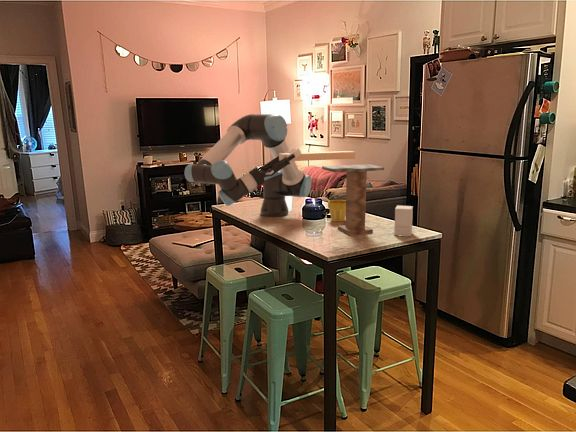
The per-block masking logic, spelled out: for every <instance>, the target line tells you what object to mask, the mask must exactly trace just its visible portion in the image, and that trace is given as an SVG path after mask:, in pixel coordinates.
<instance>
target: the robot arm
mask: <svg viewBox="0 0 576 432" xmlns="http://www.w3.org/2000/svg"><path fill="white" fill-rule="evenodd" d="M287 135H288V124H287V122H286V119H285V118H284V117H283V116H282V115H279V114H275V113H270V114H269V113H267V114H266V113H265V114H254V113H253V114H252V113H250V114H247V115H245V116H242V117H241V118H239V119H237V120H235V121H234V122H233V123H232V124H231V125H230V126H229V127H227V130H226V133H225V134H224V135H223V136H222V137H221V138H220V139H219V140H218V141H217V142H216V143H215V144H214V146H212V147H211V148H210V149H209V150H208V151H207V152H206V154H204V156H202V158H200V160H199V161H198V162H196V163H190V164H188V165H186V166H185V168H184V173H183V174H184V178H185V180H187V182H190V183H195V184H207V185H209V184H210V185H218V186H219V188H220V190H219V191H218V192H217V194H218V197H219V199H221V201H222V202H223V204H224V205H225V206H227V207H230V206H232V205H233V204H235V203H237V202H238V201H239V200H242V198H243V197H245V196H247V195H248V194H250V193H253V192H254V191H255V190H256V189H257V187H261V186H262V185H263V186H262V187H263V189H262V190H263V201H262V203H261V207H260V215H261V216H266V217H282V216H287V215H288V214H289V207H288V205H287V201H286V197H295V198H306V197H308V196H309V194H310V192H311V188H312V177H311V175H309V174H305V173H304V171H303V169H301V168H300V167H298V165H297V163H296V161H292V160H293V159H295V158H296V157H298V156H299V155H301V154H302V153H303V152H301V150H300V148H296V147H293V148H291V149H290V148H289V146H288V144H287V142H286V137H287ZM250 140H252V141H255V140H256V141H260V142H261V143H262V145H263V147H265V148H267V149H269V152H270V153H271V156H272V158H273V159H271V160H270V161H269V162H267V163H266V164H264V165H261V166H260V167H259V169H258V168H257V167H254V168H253V169H251V170H250V171H248V173H247V172H246V173H245V174H243V175H242V176H240V177H238V178H237V176H236V175H235V172H234V171H233V169H232V167H231V165H230V164H229V163H228V162H227V160H226V159H227V158H228V157H229V156H230V155H231V154H232V153H233V152H234V150H235V149H236V148H237V147H238V146H240V145H242V144H244V143H245V142H246V141H250ZM279 153H290V154H289V155H287V156H286V157H285V158H284V159H282V160H280V161H279Z"/></svg>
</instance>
